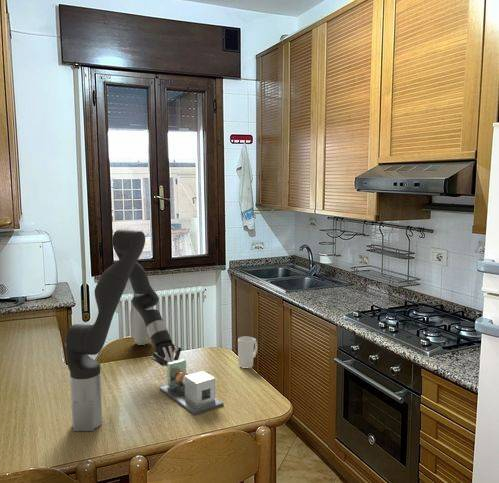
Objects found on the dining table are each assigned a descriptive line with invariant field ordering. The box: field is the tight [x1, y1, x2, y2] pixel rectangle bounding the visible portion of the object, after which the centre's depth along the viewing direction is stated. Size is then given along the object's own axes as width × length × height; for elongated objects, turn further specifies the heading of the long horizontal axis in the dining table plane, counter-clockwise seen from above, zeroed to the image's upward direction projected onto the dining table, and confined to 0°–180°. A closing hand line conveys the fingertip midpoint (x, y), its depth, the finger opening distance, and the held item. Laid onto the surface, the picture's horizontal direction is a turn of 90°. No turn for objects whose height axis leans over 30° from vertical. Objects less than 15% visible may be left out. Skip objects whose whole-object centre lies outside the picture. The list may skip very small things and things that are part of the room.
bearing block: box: [159, 370, 225, 416], centre depth 175 cm, size 25×12×10 cm, turn 38°
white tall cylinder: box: [129, 291, 152, 346], centre depth 228 cm, size 10×10×28 cm
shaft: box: [166, 358, 189, 387], centre depth 177 cm, size 15×7×9 cm, turn 38°
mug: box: [237, 336, 258, 369], centre depth 205 cm, size 10×7×12 cm, turn 132°
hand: (174, 373), depth 184 cm, fingers closed
